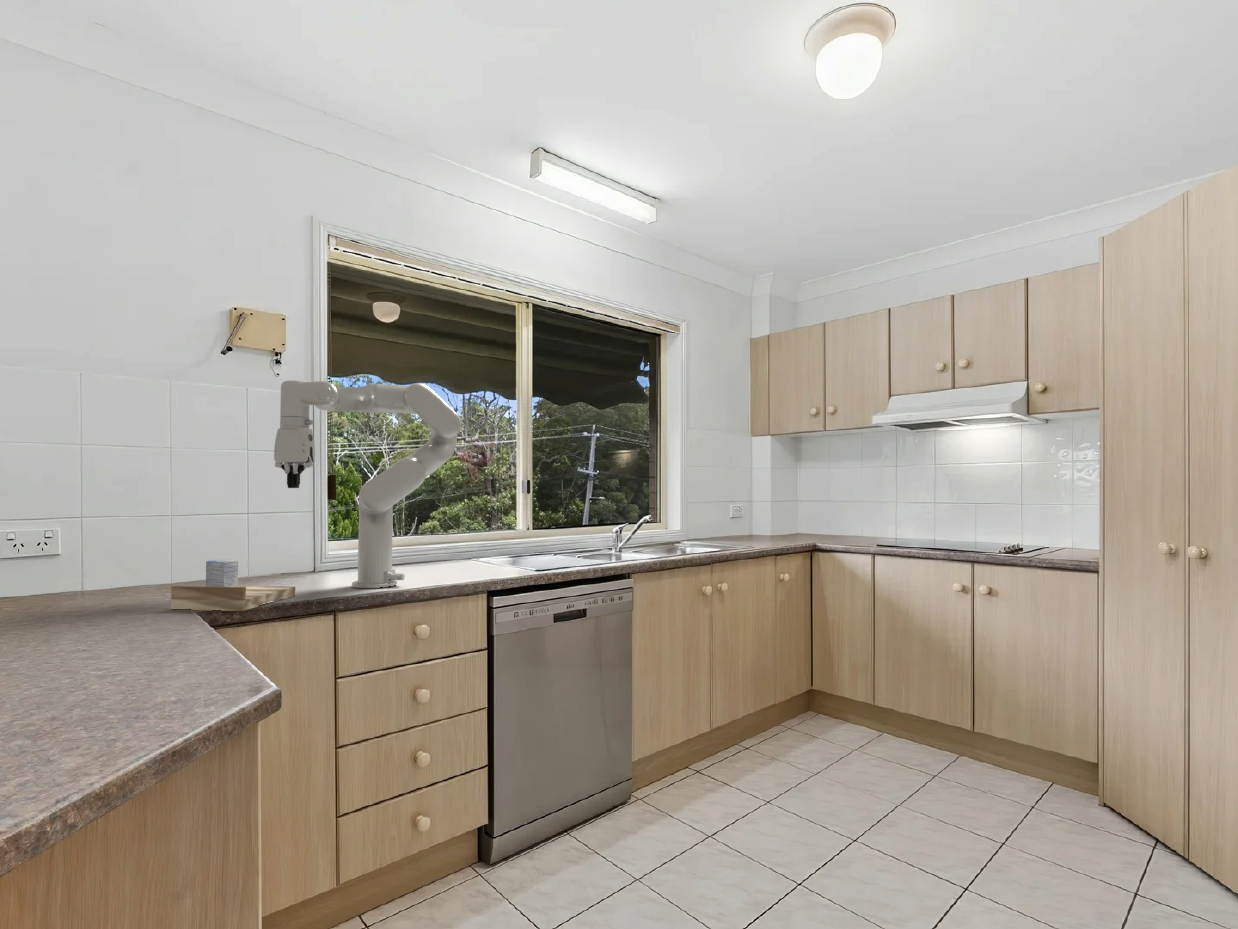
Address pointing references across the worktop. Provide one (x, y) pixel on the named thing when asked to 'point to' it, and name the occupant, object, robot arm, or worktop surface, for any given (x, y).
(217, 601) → the board
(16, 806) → the worktop surface
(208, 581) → the medicine box
